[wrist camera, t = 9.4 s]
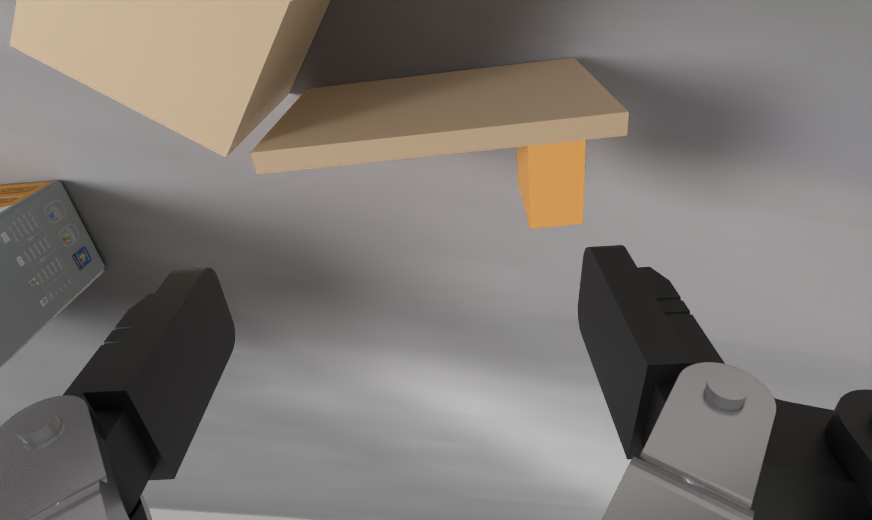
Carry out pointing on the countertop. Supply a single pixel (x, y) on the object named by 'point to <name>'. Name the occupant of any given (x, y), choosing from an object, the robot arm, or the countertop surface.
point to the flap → (459, 127)
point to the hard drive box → (39, 260)
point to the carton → (177, 56)
